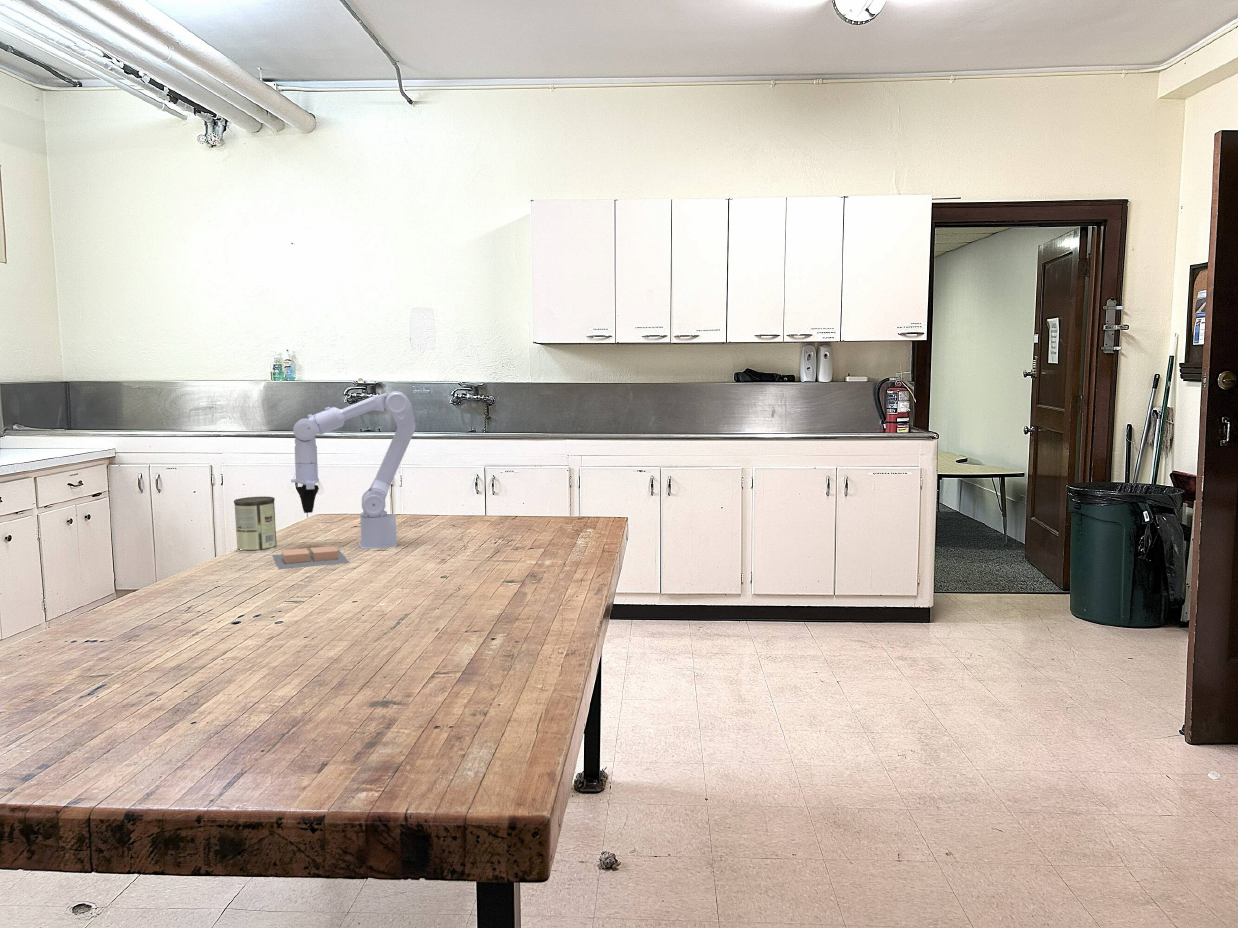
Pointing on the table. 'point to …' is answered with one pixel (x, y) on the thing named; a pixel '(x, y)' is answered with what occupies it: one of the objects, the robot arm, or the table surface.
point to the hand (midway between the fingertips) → (308, 512)
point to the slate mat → (283, 565)
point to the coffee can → (255, 524)
